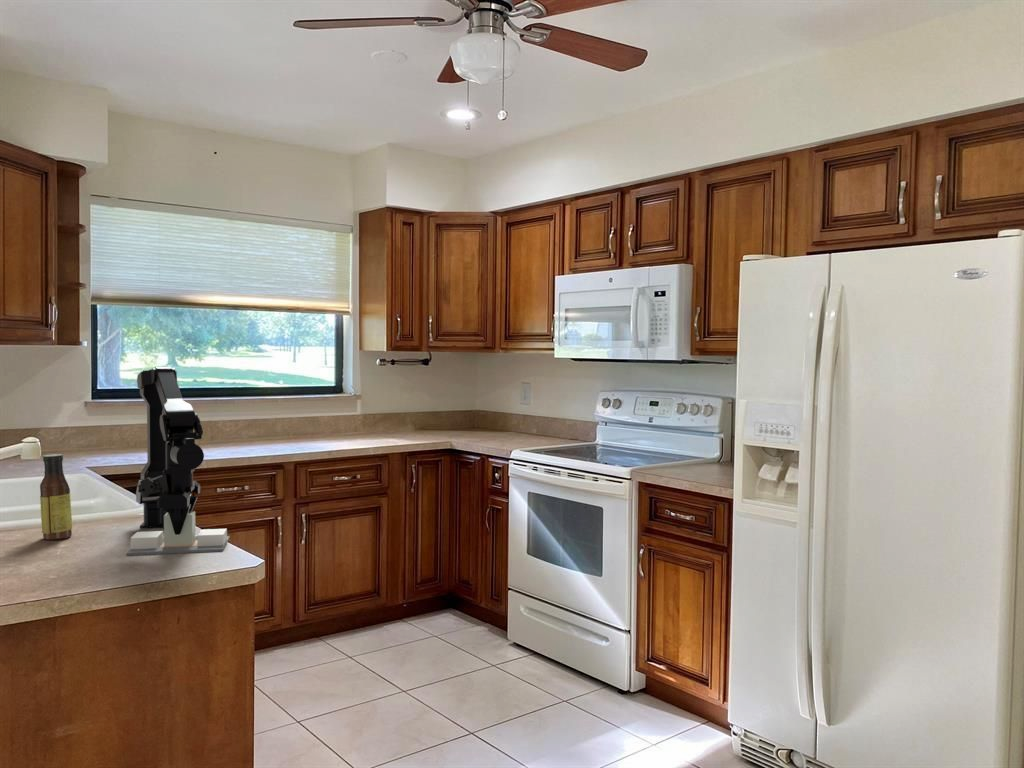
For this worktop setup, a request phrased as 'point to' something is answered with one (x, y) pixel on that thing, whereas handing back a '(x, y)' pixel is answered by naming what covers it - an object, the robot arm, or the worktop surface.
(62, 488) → the sauce bottle
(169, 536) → the block
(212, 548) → the rail board
